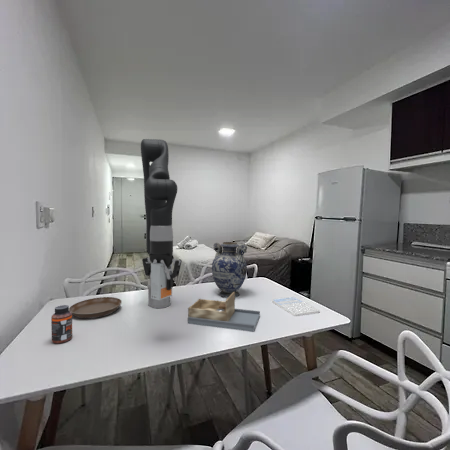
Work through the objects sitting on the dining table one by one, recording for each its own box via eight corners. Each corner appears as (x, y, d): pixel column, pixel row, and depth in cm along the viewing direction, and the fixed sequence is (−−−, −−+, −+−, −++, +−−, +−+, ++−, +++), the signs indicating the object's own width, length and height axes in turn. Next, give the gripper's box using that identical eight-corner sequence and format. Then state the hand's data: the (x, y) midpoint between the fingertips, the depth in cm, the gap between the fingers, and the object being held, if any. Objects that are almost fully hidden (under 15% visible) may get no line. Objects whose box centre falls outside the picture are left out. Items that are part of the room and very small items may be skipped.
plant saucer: (63, 324, 101) (63, 315, 101) (74, 306, 120) (74, 299, 120) (120, 317, 108) (120, 309, 107) (122, 301, 127) (122, 295, 127)
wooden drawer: (188, 318, 103) (188, 297, 102) (199, 308, 114) (199, 288, 114) (227, 323, 98) (227, 300, 98) (234, 311, 110) (234, 291, 109)
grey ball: (215, 318, 101) (215, 311, 101) (217, 315, 104) (217, 308, 104) (223, 319, 100) (223, 311, 100) (225, 316, 103) (225, 309, 103)
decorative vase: (202, 295, 137) (203, 242, 136) (222, 287, 152) (223, 240, 151) (236, 303, 125) (237, 245, 124) (254, 294, 140) (256, 242, 139)
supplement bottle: (69, 342, 85) (69, 309, 85) (48, 345, 84) (48, 310, 83) (74, 334, 91) (74, 303, 91) (55, 337, 89) (54, 304, 89)
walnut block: (218, 313, 106) (218, 306, 106) (221, 310, 110) (221, 303, 110) (228, 314, 105) (228, 307, 105) (230, 311, 109) (230, 304, 109)
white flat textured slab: (294, 317, 108) (294, 313, 108) (271, 302, 127) (271, 298, 127) (320, 313, 113) (321, 309, 113) (294, 299, 132) (294, 296, 131)
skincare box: (159, 301, 84) (159, 264, 83) (150, 298, 86) (150, 263, 86) (172, 296, 89) (172, 261, 89) (163, 293, 91) (163, 260, 91)
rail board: (187, 323, 101) (187, 317, 101) (201, 309, 116) (201, 305, 115) (253, 331, 94) (253, 325, 94) (259, 316, 108) (259, 311, 108)
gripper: (136, 239, 85) (136, 290, 86) (175, 240, 81) (176, 294, 82) (149, 237, 92) (149, 284, 93) (185, 238, 88) (186, 287, 89)
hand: (161, 288), depth 88 cm, fingers closed on skincare box, 5 cm apart
